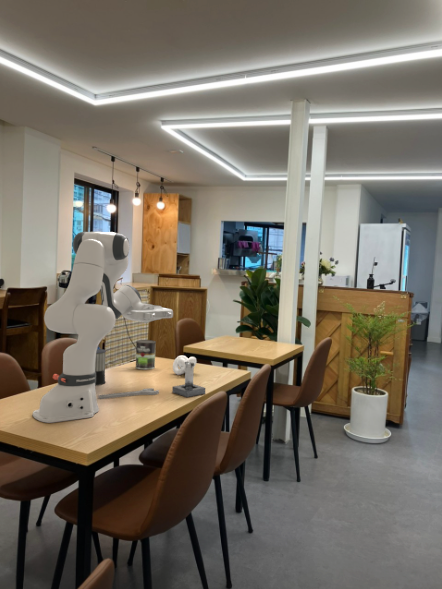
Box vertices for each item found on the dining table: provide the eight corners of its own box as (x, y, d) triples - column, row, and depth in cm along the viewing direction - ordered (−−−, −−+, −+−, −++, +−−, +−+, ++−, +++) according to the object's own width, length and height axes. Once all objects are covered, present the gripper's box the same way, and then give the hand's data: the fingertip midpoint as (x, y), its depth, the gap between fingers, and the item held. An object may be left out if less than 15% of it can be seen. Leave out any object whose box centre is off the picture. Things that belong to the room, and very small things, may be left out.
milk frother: (105, 385, 207) (106, 352, 206) (68, 386, 202) (69, 353, 202) (104, 378, 220) (104, 347, 220) (69, 379, 216) (70, 347, 215)
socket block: (186, 397, 190) (187, 391, 190) (172, 392, 198) (172, 386, 198) (205, 393, 197) (205, 387, 197) (190, 388, 204) (190, 383, 204)
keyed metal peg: (189, 394, 194) (190, 364, 194) (181, 392, 198) (182, 362, 198) (195, 393, 197) (196, 363, 196) (188, 391, 200) (189, 361, 200)
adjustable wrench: (98, 400, 184) (99, 396, 184) (96, 396, 190) (96, 392, 190) (159, 395, 194) (159, 390, 194) (155, 391, 200) (155, 387, 200)
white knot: (198, 376, 229) (199, 358, 228) (174, 377, 226) (175, 359, 226) (194, 372, 240) (195, 354, 239) (171, 372, 237) (172, 355, 237)
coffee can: (151, 370, 241) (152, 343, 240) (132, 369, 242) (133, 342, 242) (157, 366, 251) (158, 340, 250) (139, 365, 252) (139, 339, 252)
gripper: (125, 306, 207) (142, 309, 197) (162, 305, 221) (180, 307, 211) (124, 320, 207) (142, 324, 197) (162, 318, 221) (180, 321, 211)
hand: (162, 315), depth 204 cm, fingers open, 8 cm apart
